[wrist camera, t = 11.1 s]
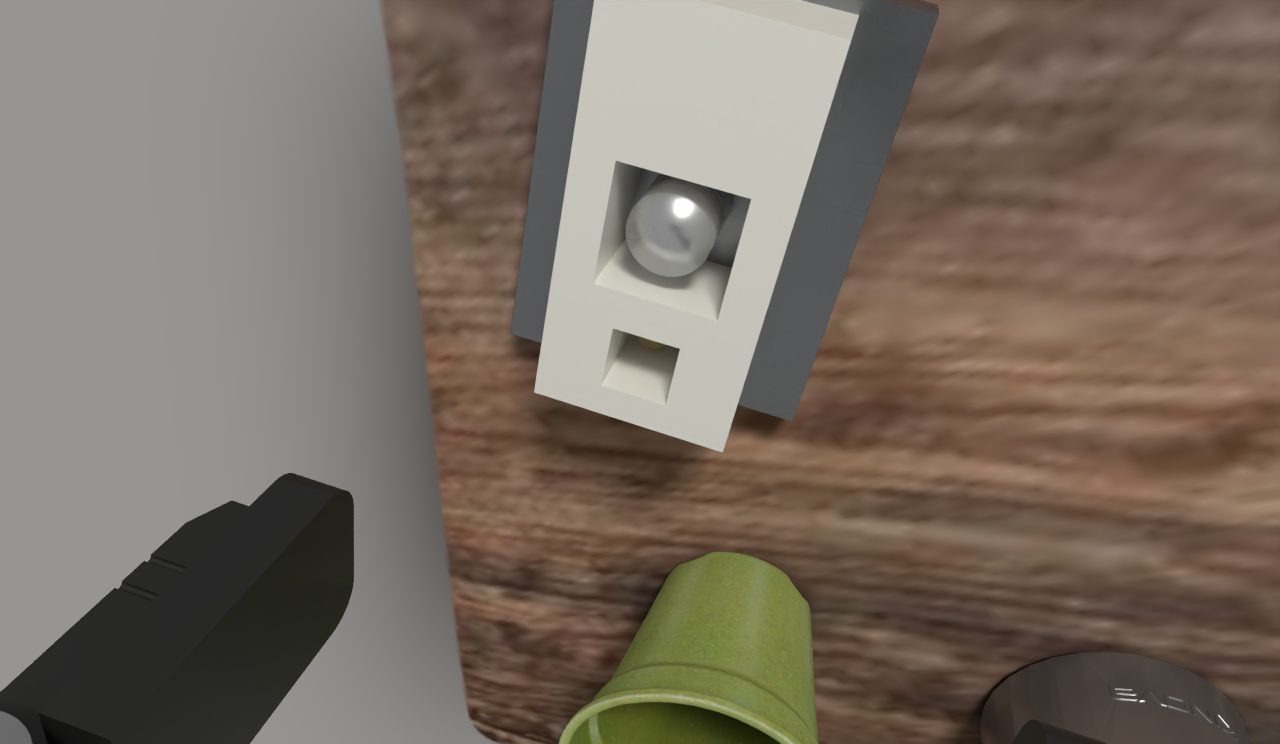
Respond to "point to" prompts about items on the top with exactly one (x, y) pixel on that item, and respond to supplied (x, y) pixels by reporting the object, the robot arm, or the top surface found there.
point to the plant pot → (712, 663)
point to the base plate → (713, 219)
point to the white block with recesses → (696, 152)
